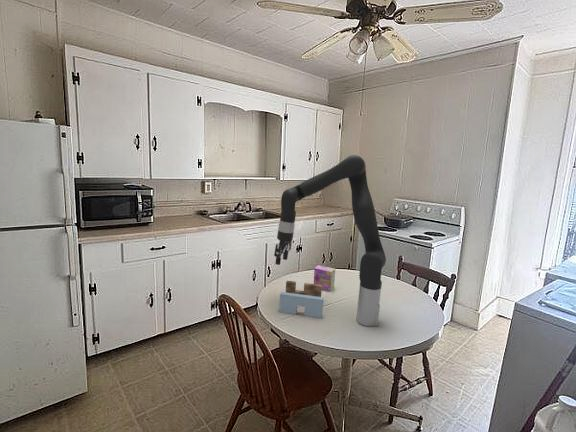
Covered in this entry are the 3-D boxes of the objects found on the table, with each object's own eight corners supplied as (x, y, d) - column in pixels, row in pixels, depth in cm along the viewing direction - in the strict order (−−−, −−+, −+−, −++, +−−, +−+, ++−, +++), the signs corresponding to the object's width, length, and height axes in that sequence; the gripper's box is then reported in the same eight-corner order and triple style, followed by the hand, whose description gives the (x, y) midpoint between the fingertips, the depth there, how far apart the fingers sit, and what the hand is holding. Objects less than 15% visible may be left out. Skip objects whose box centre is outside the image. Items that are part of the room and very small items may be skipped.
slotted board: (320, 301, 158) (322, 285, 156) (320, 303, 156) (321, 286, 154) (285, 296, 161) (286, 280, 159) (285, 298, 159) (286, 282, 157)
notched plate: (322, 315, 144) (323, 297, 142) (321, 318, 142) (323, 299, 140) (280, 309, 148) (281, 291, 146) (279, 311, 145) (279, 294, 143)
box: (312, 287, 174) (314, 267, 172) (316, 284, 179) (318, 264, 177) (330, 292, 169) (332, 271, 167) (334, 288, 174) (335, 268, 172)
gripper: (287, 234, 140) (282, 268, 144) (298, 229, 153) (293, 259, 156) (272, 231, 143) (267, 264, 146) (284, 225, 156) (280, 256, 159)
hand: (281, 261), depth 151 cm, fingers open, 8 cm apart
